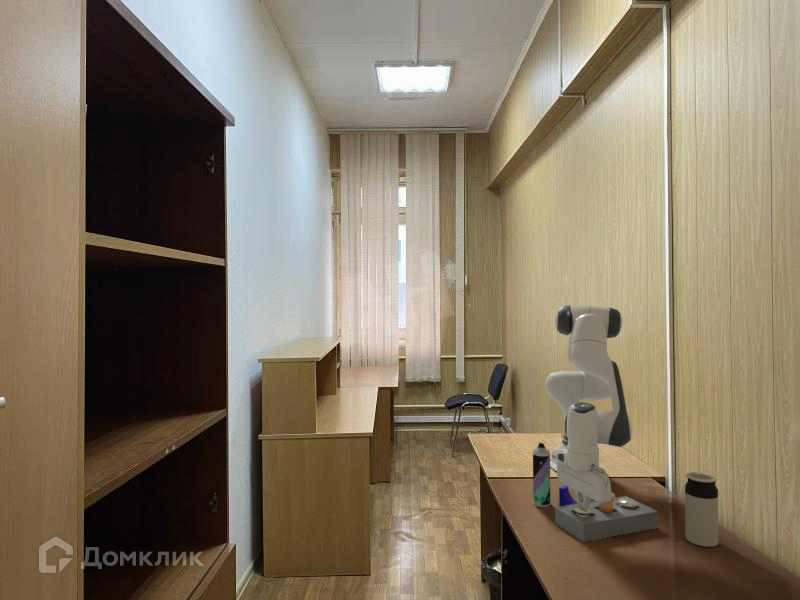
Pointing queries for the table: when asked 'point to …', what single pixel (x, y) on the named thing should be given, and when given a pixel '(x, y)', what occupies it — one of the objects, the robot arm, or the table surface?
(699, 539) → the travel mug
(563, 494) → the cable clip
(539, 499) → the spray can
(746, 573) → the table surface
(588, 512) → the near knob
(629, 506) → the far knob
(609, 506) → the orange knob
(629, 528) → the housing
